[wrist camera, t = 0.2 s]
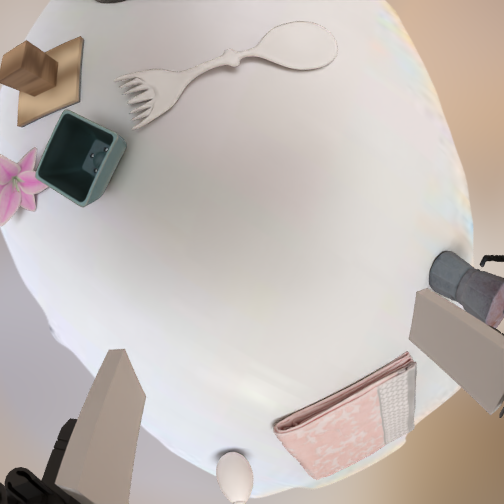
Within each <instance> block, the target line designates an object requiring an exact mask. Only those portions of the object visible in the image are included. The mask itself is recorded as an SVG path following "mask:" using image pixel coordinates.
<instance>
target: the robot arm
mask: <svg viewBox="0 0 504 504" xmlns="http://www.w3.org/2000/svg"><path fill="white" fill-rule="evenodd" d="M96 1H98V2H103V3H114V2H120V1H124V0H96ZM409 340H410V341H411V342H412V343H413V344H415V345H416V346H417V347H418V348H419V349H420V350H421V351H422V352H424V353H425V354H426V355H427V356H428V357H429V358H430V359H431V360H433V361H434V362H435V363H436V364H437V365H438V366H439V367H440V368H441V369H442V370H444V371H445V372H446V373H447V374H448V375H449V376H450V377H451V378H452V379H453V380H454V381H455V382H457V383H458V384H459V385H460V386H461V387H462V388H463V389H464V390H465V391H466V392H467V393H468V394H469V395H470V396H472V398H474V399H475V400H476V401H477V402H478V403H479V404H480V405H481V406H482V407H483V408H484V409H485V410H486V411H487V412H488V413H489V414H490V415H491V414H492V413H494V412H495V411H496V410H497V409H498V408H499V407H500V406H501V404H502V402H503V401H504V334H503V333H502V334H501V332H500V331H499V330H497V329H496V328H494V327H492V326H489V325H486V324H485V323H483V322H482V321H480V320H479V319H477V318H476V317H474V316H472V315H471V314H469V313H468V312H466V311H464V310H463V309H461V308H459V307H458V306H456V305H455V304H453V303H451V302H450V301H448V300H446V299H445V298H443V297H441V296H440V295H438V294H436V293H434V292H433V291H431V290H429V289H428V288H426V289H423V290H420V291H417V292H416V299H415V306H414V313H413V319H412V324H411V330H410V335H409ZM145 399H146V395H145V393H144V391H143V389H142V387H141V385H140V383H139V380H138V378H137V376H136V374H135V372H134V369H133V367H132V365H131V362H130V360H129V358H128V355H127V353H126V350H125V349H116V350H109V351H108V353H107V355H106V357H105V359H104V361H103V363H102V365H101V367H100V369H99V371H98V374H97V376H96V378H95V380H94V382H93V384H92V387H91V389H90V391H89V393H88V396H87V398H86V401H85V403H84V405H83V407H82V410H81V412H80V415H79V417H78V419H69V420H68V422H66V424H65V425H64V426H63V427H62V428H61V431H60V433H59V435H58V438H57V439H58V441H56V443H55V445H54V449H53V450H52V453H51V456H50V458H49V461H48V464H47V467H46V470H45V472H44V475H43V478H42V480H40V479H39V478H37V477H36V476H35V475H34V474H33V473H32V472H30V471H29V470H28V469H26V468H22V467H19V468H15V469H13V470H12V471H10V472H9V473H8V475H7V476H6V479H5V486H4V485H3V484H1V483H0V504H129V494H130V486H131V479H132V472H133V465H134V458H135V452H136V446H137V440H138V435H139V429H140V424H141V419H142V414H143V409H144V404H145ZM503 414H504V407H503V409H502V411H501V412H500V418H501V417H502V416H503Z"/></svg>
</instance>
